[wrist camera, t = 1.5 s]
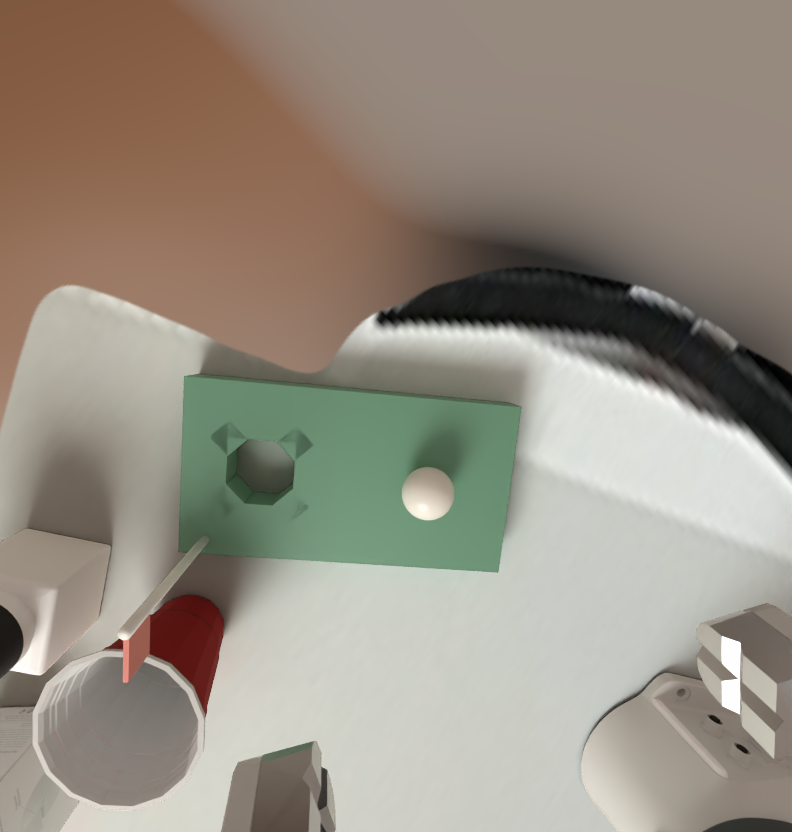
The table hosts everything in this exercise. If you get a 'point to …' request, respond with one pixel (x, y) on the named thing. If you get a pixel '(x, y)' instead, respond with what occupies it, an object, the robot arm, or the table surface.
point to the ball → (428, 493)
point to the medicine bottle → (47, 596)
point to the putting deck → (335, 480)
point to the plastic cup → (132, 713)
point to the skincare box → (27, 780)
